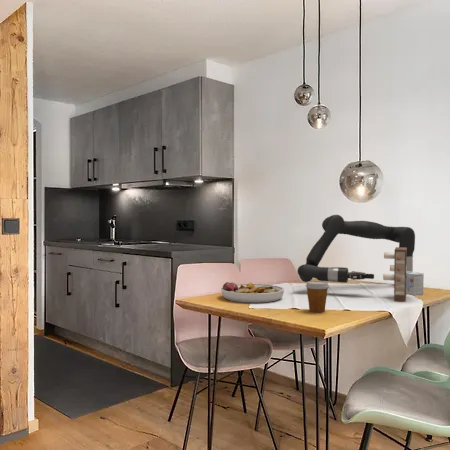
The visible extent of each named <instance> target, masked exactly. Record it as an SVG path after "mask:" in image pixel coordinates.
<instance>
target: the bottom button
mask: <svg viewBox="0 0 450 450" xmlns="http://www.w3.org/2000/svg"><path fill="white" fill-rule="evenodd" d="M382 277H383V279H382V280H383V281H393V282H394V273H392V274H391V273H383V274H382Z"/></svg>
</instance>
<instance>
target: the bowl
mask: <svg viewBox="0 0 450 450" xmlns="http://www.w3.org/2000/svg"><path fill="white" fill-rule="evenodd" d="M220 291H221V295H222V297H223V298H225V299H226V300H228V301H231V302H234V303H245V304H246V303H247V304H262V303H272V302H275V301H278V300H280V299H281V298H282V297H283V296H284V291H285V289H284V287H281V286H278V285H272V284H263V283H262V284H261V283H253V282H249V283H242V284H241V283H240V284H237V283H235V282H227V281H226V282H225V283H224V284H223V285H222V287H221V290H220Z"/></svg>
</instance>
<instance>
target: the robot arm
mask: <svg viewBox="0 0 450 450" xmlns="http://www.w3.org/2000/svg"><path fill="white" fill-rule="evenodd" d="M321 226H322V230H323V231H324V232H323V234H322V235H321V236H320V238H319V239H318V240H317V241H316V243H315V244H314V245H313V246H312V248H311V250H310V251H309V253H308V255H307V256H306V259H305V261H306V262H305V264H301V265H300V266H298V268H297V274H298V277H299V278H300V280H301V281H302V282H304V283H307V282H309V281H313V279H316V280H317V281H323V282H331V283H344V284H345V283H346V284H347V283H348V282H349V279H350V280H351V281H356V280H358V281H359V280H366V279H368V280H370V279H371V280H374V279H375V274H374V273H366V272H362V271H355V270H354V271H353V270H352V271H351V272H349V268H348V267H344V266H343V267H341V266H331V267H327V266H325V267H324V266H319V264H320V263H321V261H322V259H323V257H324V255H325V253H326V252H327V251H328V248H329V247H330V246H331V244H332V243H333V241H334V240H335V239H336V237H337V235H348V236H353V237H359V238H364V239H369V240H387V241H390V242H395V243H398V247H405V248H407V271H411V272H414V271H413V270H414V268H413V267H414V266H413V265H414V259H413V257H414V252H415V249H416V248H415V245H416V233H415V230H414V229H413V228H412V227H409V226H389V225H388V226H387V225H383V224H382V223H378V222H374V221H369V220H352V221H351V220H350V221H349V220H348V221H347V220H344V218H343V217H342V216H341V215H339V214H332V215H330V216H328V217H326V218H325V219H324V220H323V221H322V223H321Z"/></svg>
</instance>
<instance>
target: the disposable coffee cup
mask: <svg viewBox="0 0 450 450" xmlns="http://www.w3.org/2000/svg"><path fill="white" fill-rule="evenodd" d="M305 287H306V293H307V294H306V295H307V301H308V308H309V309H308V310H309V312H311V313H324V312H325V311H326V305H327V304H326V303H327V296H328V290H329V287H330V285H329V283H328V281H319V280H311V281H309V282H306V284H305Z"/></svg>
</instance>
